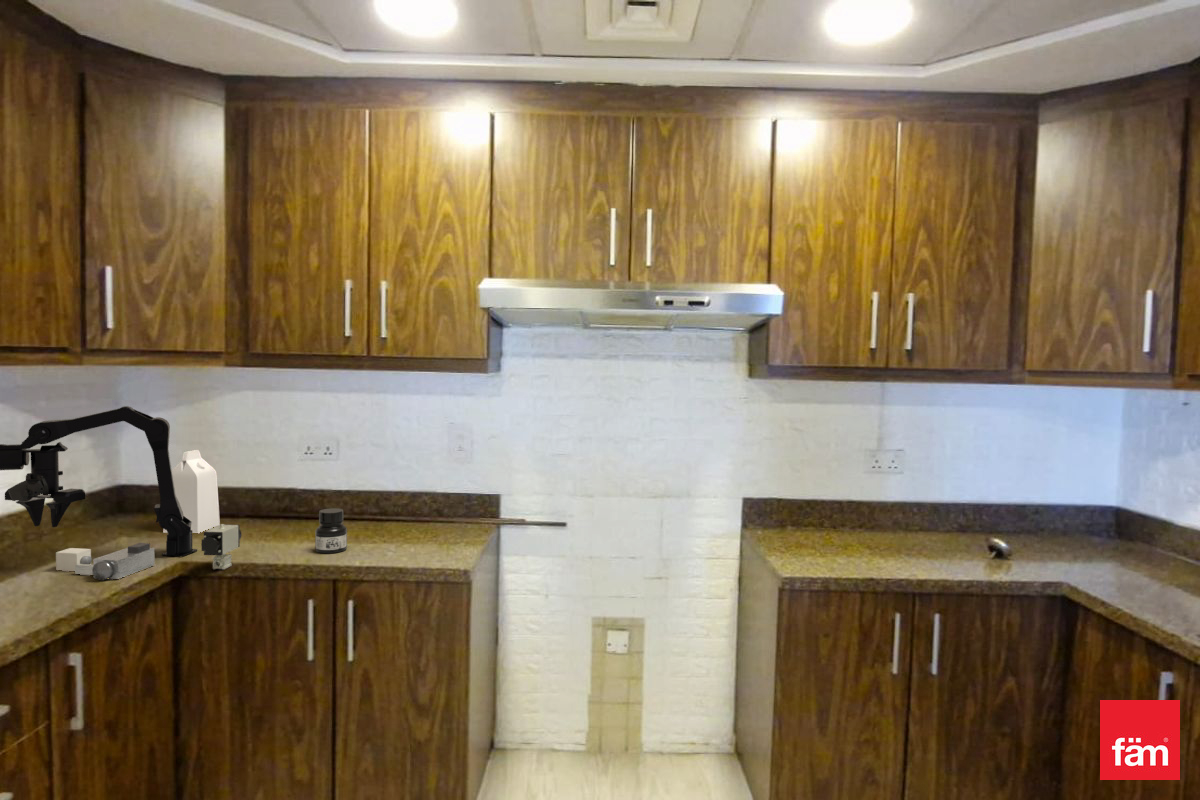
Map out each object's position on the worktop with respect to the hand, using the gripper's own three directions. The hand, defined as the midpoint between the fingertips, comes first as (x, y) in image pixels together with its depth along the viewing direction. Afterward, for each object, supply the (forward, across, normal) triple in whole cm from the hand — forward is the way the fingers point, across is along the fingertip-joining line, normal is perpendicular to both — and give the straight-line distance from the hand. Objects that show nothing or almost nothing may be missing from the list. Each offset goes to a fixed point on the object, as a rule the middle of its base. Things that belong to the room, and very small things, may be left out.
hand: (46, 526), depth 182 cm
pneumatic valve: (+11, +44, +8) cm, 47 cm away
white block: (+11, +8, 0) cm, 14 cm away
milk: (+11, +8, +45) cm, 47 cm away
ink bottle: (+11, +64, +30) cm, 72 cm away
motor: (+11, +19, -1) cm, 22 cm away
